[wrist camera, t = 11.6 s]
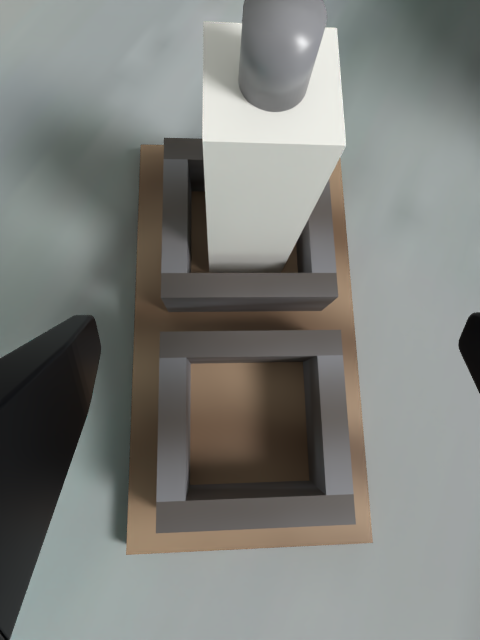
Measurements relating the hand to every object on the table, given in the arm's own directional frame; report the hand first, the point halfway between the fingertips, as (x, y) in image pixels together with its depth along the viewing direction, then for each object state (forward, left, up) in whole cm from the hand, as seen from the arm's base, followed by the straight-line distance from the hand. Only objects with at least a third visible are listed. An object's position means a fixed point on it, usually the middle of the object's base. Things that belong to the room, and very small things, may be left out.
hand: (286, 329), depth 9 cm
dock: (+1, +2, -12) cm, 13 cm away
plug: (+5, +6, -11) cm, 13 cm away
